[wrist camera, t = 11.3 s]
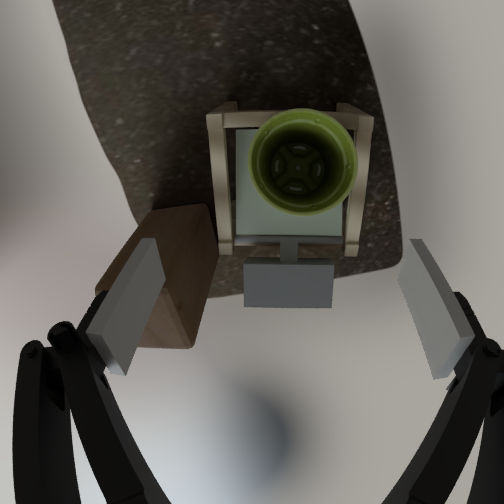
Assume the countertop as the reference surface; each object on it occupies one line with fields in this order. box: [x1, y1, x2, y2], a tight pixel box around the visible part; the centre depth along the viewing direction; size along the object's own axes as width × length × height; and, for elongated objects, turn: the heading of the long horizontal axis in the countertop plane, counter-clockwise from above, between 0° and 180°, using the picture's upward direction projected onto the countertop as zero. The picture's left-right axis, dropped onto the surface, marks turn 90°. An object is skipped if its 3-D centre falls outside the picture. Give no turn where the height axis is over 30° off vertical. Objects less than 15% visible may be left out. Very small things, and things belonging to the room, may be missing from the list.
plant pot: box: [248, 108, 358, 216], centre depth 29 cm, size 9×9×9 cm
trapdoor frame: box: [206, 101, 374, 256], centre depth 36 cm, size 16×16×12 cm
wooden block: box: [95, 203, 219, 349], centre depth 40 cm, size 10×10×20 cm
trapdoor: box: [235, 129, 343, 308], centre depth 35 cm, size 20×12×4 cm, turn 2°
